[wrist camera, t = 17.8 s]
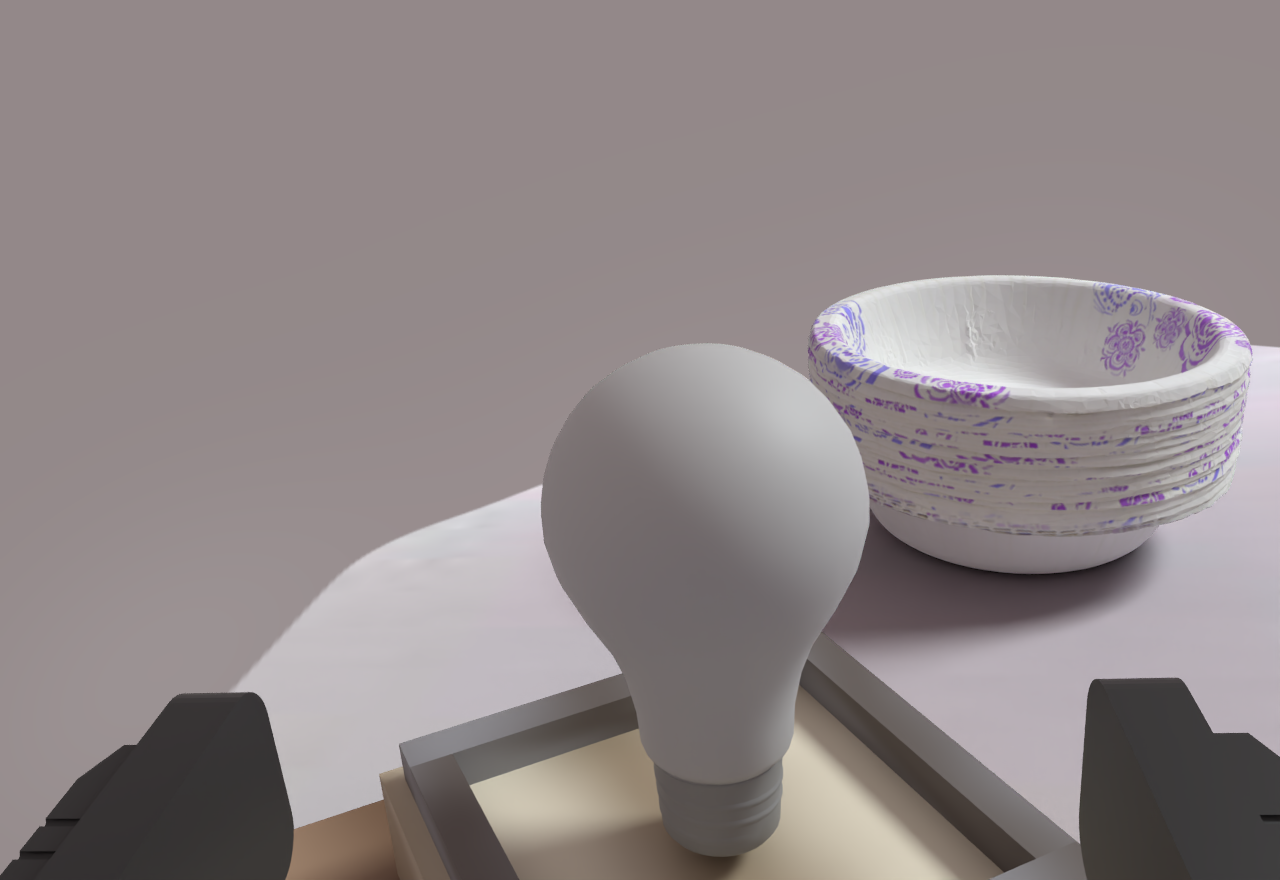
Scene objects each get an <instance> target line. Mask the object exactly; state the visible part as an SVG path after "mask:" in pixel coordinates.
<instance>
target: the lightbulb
mask: <svg viewBox="0 0 1280 880" xmlns="http://www.w3.org/2000/svg"><path fill="white" fill-rule="evenodd" d="M541 518H542V527H543V535H544V544H545V546H546V549H547V552H548V554H549V557H550V560H551V563H552V565H553V568H554V571H555V573H556V576H557V578H558V580H559V582H560V584H561V586H562V588H563V589H564V591H565V592H566V594H567V595H568V597H569V598H570V600H571V601H572V602H573V604H574V605H575V607H576V608H577V610H578V611H579V613H580V614H581V616H582V617H583V619H584V620H585V622H586V623H587V624H588V626H589V627H590V628H591V629H592V631H593V632H594V633H595V634H596V635H597V637H598V638H599V639H600V640H601V641H602V643H603V644H604V645H605V646H606V648H607V649H608V650H609V651H610V652H611V654H612V655H613V656H614V658H615V660H616V662H617V664H618V665H619V667H620V669H621V671H622V673H623V675H624V677H625V679H626V681H627V684H628V688H629V691H630V694H631V697H632V700H633V703H634V706H635V710H636V713H637V720H638V726H639V732H640V739H641V743H642V745H643V747H644V749H645V751H646V753H647V755H648V757H649V758H650V759H651V760H652V761H653V762H654V772H655V777H656V786H657V792H658V796H659V806H660V811H661V813H662V820H663V825H664V827H665V829H666V831H667V832H668V834H669V835H670V836H671V837H672V838H673V839H674V840H675V841H676V842H678V843H679V844H680V845H682V846H683V847H684V848H686V849H688V850H690V851H692V852H695V853H698V854H701V855H706V856H712V857H728V856H736V855H740V854H743V853H747V852H749V851H751V850H753V849H756V848H757V847H759V846H760V845H762V844H763V843H764V842H765V841H766V840H767V839H768V838H769V837H770V836H771V835H772V834H773V833H774V832H775V830H776V828H777V827H778V825H779V821H780V815H781V797H782V794H783V785H782V779H783V766H782V758H783V756H784V755H785V753H786V752H787V750H788V749H789V746H790V743H791V740H792V737H793V734H794V715H795V701H796V697H797V692H798V687H799V682H800V677H801V672H802V670H803V667H804V665H805V662H806V660H807V658H808V655H809V653H810V650H811V648H812V645H813V644H814V642H815V641H816V639H817V638H818V636H819V635H820V633H821V632H822V630H823V629H824V627H825V626H826V624H827V623H828V621H829V620H830V618H831V617H832V615H833V614H834V612H835V611H836V609H837V607H838V605H839V603H840V601H841V600H842V598H843V596H844V594H845V592H846V590H847V589H848V587H849V585H850V583H851V581H852V579H853V577H854V576H855V574H856V572H857V569H858V566H859V562H860V559H861V556H862V552H863V548H864V544H865V540H866V536H867V532H868V528H869V491H868V485H867V480H866V475H865V471H864V466H863V462H862V457H861V455H860V452H859V450H858V447H857V445H856V442H855V440H854V437H853V435H852V433H851V431H850V429H849V428H848V426H847V425H846V423H845V422H844V421H843V419H842V418H841V416H840V415H839V414H838V412H837V411H836V409H835V408H834V407H833V405H832V404H831V402H830V401H829V400H828V398H827V397H826V396H825V395H823V394H822V393H821V392H820V391H819V390H818V389H817V388H816V387H815V386H814V385H813V384H812V383H811V382H810V381H809V380H808V379H807V378H805V377H804V376H803V375H801V374H800V373H798V372H796V371H795V370H793V369H791V368H790V367H787V366H786V365H784V364H783V363H781V362H779V361H777V360H775V359H773V358H771V357H768V356H766V355H763V354H760V353H757V352H754V351H751V350H747V349H744V348H741V347H738V346H731V345H725V344H708V343H705V344H687V345H679V346H673V347H668V348H664V349H660V350H657V351H654V352H651V353H648V354H646V355H644V356H642V357H640V358H638V359H636V360H634V361H631V362H629V363H627V364H625V365H623V366H621V367H620V368H618V369H617V370H615V371H614V372H612V373H611V374H610V375H608V376H607V377H606V378H604V379H603V380H602V381H600V382H599V383H598V384H596V385H595V386H594V387H593V388H592V389H591V390H590V391H589V392H588V393H587V394H586V395H585V396H584V397H583V399H582V400H581V401H580V402H579V404H578V405H577V406H576V407H575V409H574V410H573V411H572V412H571V414H570V415H569V417H568V418H567V420H566V422H565V424H564V426H563V428H562V429H561V431H560V433H559V435H558V436H557V438H556V440H555V442H554V445H553V447H552V449H551V452H550V456H549V460H548V463H547V467H546V470H545V474H544V479H543V488H542V498H541Z"/></svg>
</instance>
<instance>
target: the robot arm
mask: <svg viewBox="0 0 1280 880" xmlns="http://www.w3.org/2000/svg"><path fill="white" fill-rule="evenodd" d="M1079 831H1080V843H1081V851H1082V858H1083V864H1084V869H1085V873H1086V877H1087V880H1280V757H1279V756H1278V755H1276V754H1275V753H1274V752H1272V751H1271V750H1270V749H1269V748H1267V747H1266V746H1265V745H1263V744H1262V743H1261V742H1259V741H1258V740H1257V739H1256V738H1254V737H1253V736H1252V735H1250V734H1249V733H1213V732H1212V730H1211V728H1210V727H1209V725H1208V723H1207V721H1206V720H1205V718H1204V716H1203V714H1202V713H1201V711H1200V709H1199V707H1198V705H1197V704H1196V702H1195V700H1194V698H1193V697H1192V695H1191V693H1190V691H1189V690H1188V688H1187V686H1186V685H1185V683H1184V682H1183V681H1182V680H1181V679H1179V678H1136V679H1094V680H1093V681H1092V683H1091V685H1090V688H1089V692H1088V698H1087V710H1086V724H1085V738H1084V752H1083V766H1082V780H1081V794H1080V808H1079ZM293 842H294V825H293V817H292V812H291V807H290V803H289V799H288V795H287V791H286V787H285V783H284V779H283V775H282V770H281V766H280V762H279V758H278V754H277V750H276V746H275V742H274V738H273V733H272V729H271V725H270V721H269V717H268V713H267V710H266V707H265V705H264V702H263V701H262V699H261V698H260V697H259V696H258V695H257V694H255V693H253V692H245V693H193V694H192V693H191V694H179V695H177V696H176V697H174V698H173V699H172V700H171V701H170V702H169V703H168V705H167V706H166V707H165V709H164V710H163V711H162V712H161V714H160V715H159V716H158V718H157V719H156V720H155V722H154V723H153V724H152V726H151V727H150V728H149V729H148V731H147V732H146V733H145V735H144V736H143V737H142V739H141V740H140V741H139V743H138V744H137V745H124V746H122V747H121V748H120V749H118V750H117V751H115V752H114V753H113V754H112V755H110V756H109V757H108V758H106V759H104V760H103V761H102V762H100V763H99V764H98V765H96V766H95V767H94V768H92V769H91V770H89V771H88V772H87V773H85V774H84V775H83V776H81V777H80V778H78V779H77V780H76V782H75V783H74V784H73V785H72V787H71V788H70V789H69V791H68V792H67V793H66V794H65V795H64V797H63V798H62V799H61V800H60V802H59V803H58V804H57V805H56V807H55V808H54V809H53V810H52V812H51V813H50V814H49V815H48V817H47V818H46V825H45V827H39V828H38V829H37V830H36V832H35V833H34V834H33V835H32V837H31V838H30V839H29V840H28V842H27V843H26V844H25V845H24V847H23V848H22V849H21V850H20V857H19V859H18V860H12V862H11V863H10V864H9V865H8V867H7V868H6V869H5V870H4V872H3V873H2V874H1V875H0V880H285V879H286V877H287V874H288V871H289V867H290V863H291V858H292V852H293Z"/></svg>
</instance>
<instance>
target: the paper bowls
mask: <svg viewBox="0 0 1280 880" xmlns="http://www.w3.org/2000/svg"><path fill="white" fill-rule="evenodd" d="M808 353H809V359H808V368H809V375H810V380H809V381H810V382H811V383H812V384H813V385H814V386H815V387H816V388H817V389H818V390H819V391H820V392H821V393H822V394H823V395H825V396H826V397H827V398H828V400H829V401H830V402H831V404H832V405H833V407H834V408H835V409H836V411H837V412H838V414H839V415H840V416H841V418H842V419H843V421H844V422H845V423H846V425H847V426H848V428H849V429H850V431H851V433H852V435H853V437H854V440H855V442H856V445H857V447H858V450H859V452H860V455H861V457H862V462H863V466H864V471H865V475H866V480H867V485H868V491H869V506H870V508H871V510H872V512H873V513H874V515H875V516H876V518H877V519H878V520H879V522H880V523H881V524H882V525H883V526H884V527H885V528H886V529H887V530H888V531H889V532H890V533H891V534H893V535H894V536H895V537H897V538H898V539H899V540H901V541H902V542H904V543H906V544H908V545H909V546H911V547H913V548H915V549H917V550H919V551H921V552H923V553H925V554H928V555H930V556H933V557H935V558H938V559H941V560H944V561H947V562H950V563H954V564H958V565H962V566H965V567H970V568H975V569H981V570H987V571H995V572H1004V573H1015V574H1047V573H1060V572H1070V571H1076V570H1082V569H1087V568H1091V567H1095V566H1098V565H1101V564H1104V563H1107V562H1110V561H1113V560H1115V559H1117V558H1120V557H1122V556H1124V555H1126V554H1128V553H1129V552H1131V551H1133V550H1134V549H1136V548H1138V547H1139V546H1140V545H1141V544H1142V543H1144V542H1145V541H1146V540H1147V539H1148V538H1149V537H1150V536H1151V535H1152V534H1153V533H1154V532H1155V530H1156V529H1157V528H1158V527H1159V525H1162V524H1167V523H1171V522H1174V521H1178V520H1181V519H1184V518H1186V517H1188V516H1190V515H1191V514H1196V513H1198V512H1200V511H1202V510H1204V509H1205V508H1210V507H1211V506H1212V505H1213V504H1214V503H1215V502H1216V501H1217V500H1218V499H1219V498H1220V497H1221V496H1223V495H1224V494H1226V492H1227V491H1228V490H1229V488H1230V485H1231V483H1232V479H1233V476H1234V472H1235V469H1236V459H1237V458H1238V456H1239V450H1240V441H1242V423H1243V417H1244V410H1245V406H1246V399H1247V390H1248V387H1249V383H1250V368H1249V367H1250V366H1251V363H1252V361H1253V358H1252V349H1251V346H1250V343H1249V340H1248V338H1247V337H1246V335H1245V334H1244V332H1243V331H1241V330H1240V329H1239V327H1238V326H1236V325H1235V324H1234V323H1233V322H1231V321H1229V320H1228V319H1227V318H1225V317H1223V316H1220V315H1219V314H1217V313H1215V312H1213V311H1210V310H1208V309H1206V308H1204V307H1201V306H1198V305H1196V304H1194V303H1192V302H1188V301H1185V300H1183V299H1180V298H1176V297H1173V296H1169V295H1166V294H1161V293H1157V292H1153V291H1149V290H1144V289H1140V288H1132V287H1128V286H1122V285H1117V284H1109V283H1103V282H1095V281H1085V280H1076V279H1069V278H1068V279H1067V278H1058V277H1039V276H1004V275H991V276H964V277H946V278H936V279H926V280H918V281H911V282H904V283H899V284H894V285H889V286H884V287H879V288H875V289H872V290H868V291H865V292H861V293H858V294H856V295H853V296H850V297H848V298H845V299H843V300H841V301H839V302H837V303H835V304H833V305H831V306H830V307H828V308H827V309H826V310H825V311H823V312H822V313H821V314H820V315H819V316H818V317H817V318H816V320H815V322H814V324H813V325H812V328H811V331H810V335H809V339H808Z"/></svg>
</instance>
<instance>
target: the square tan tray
mask: <svg viewBox="0 0 1280 880" xmlns="http://www.w3.org/2000/svg"><path fill="white" fill-rule="evenodd" d="M399 747H400V753H401V759H402V765H403V767H400V768H397V769H394V770H390V771H387V772H384V773H381V774H379V775H380V781H381V786H382V792H383V797H384V800H381V801H378V802H375V803H372V804H369V805H366V806H363V807H360V808H357V809H354V810H351V811H348V812H345V813H342V814H339V815H336V816H333V817H330V818H327V819H324V820H321V821H318V822H315V823H312V824H309V825H306V826H303V827H300V828H297V829H294V842H293V852H292V858H291V863H290V867H289V871H288V874H287V877H286V879H285V880H1087V877H1086V873H1085V869H1084V864H1083V858H1082V851H1081V845H1080V844H1079V843H1078V842H1077V841H1076V840H1074V839H1073V838H1072V837H1071V836H1069V835H1068V834H1067V833H1066V832H1065V831H1063V830H1062V829H1061V828H1060V827H1058V826H1057V825H1056V824H1055V823H1054V822H1052V821H1051V820H1050V819H1049V818H1048V817H1046V816H1045V815H1044V814H1043V813H1041V812H1040V811H1039V810H1038V809H1037V808H1035V807H1034V806H1033V805H1032V804H1030V803H1029V802H1028V801H1027V800H1026V799H1024V798H1023V797H1022V796H1021V795H1020V794H1018V793H1017V792H1016V791H1015V790H1013V789H1012V788H1011V787H1010V786H1009V785H1007V784H1006V783H1005V782H1004V781H1003V780H1001V779H1000V778H999V777H998V776H996V775H995V774H994V773H993V772H992V771H990V770H989V769H988V768H987V767H985V766H984V765H983V764H982V763H981V762H979V761H978V760H977V759H976V758H975V757H973V756H972V755H971V754H970V753H968V752H967V751H966V750H965V749H964V748H962V747H961V746H960V745H959V744H958V743H956V742H955V741H954V740H953V739H951V738H950V737H949V736H948V735H947V734H945V733H944V732H943V731H942V730H940V729H939V728H938V727H937V726H936V725H934V724H933V723H932V722H931V721H930V720H928V719H927V718H926V717H925V716H923V715H922V714H921V713H920V712H919V711H917V710H916V709H915V708H914V707H913V706H911V705H910V704H909V703H908V702H906V701H905V700H904V699H903V698H902V697H900V696H899V695H898V694H897V693H895V692H894V691H893V690H892V689H891V688H889V687H888V686H887V685H886V684H885V683H883V682H882V681H881V680H880V679H878V678H877V677H876V676H875V675H874V674H872V673H871V672H870V671H869V670H867V669H866V668H865V667H864V666H863V665H861V664H860V663H859V662H858V661H857V660H855V659H854V658H853V657H852V656H850V655H849V654H848V653H847V652H846V651H844V650H843V649H842V648H841V647H840V646H838V645H837V644H836V643H835V642H833V641H832V640H831V639H830V638H829V637H827V636H826V635H825V634H824V633H822V632H821V633H820V635H819V636H818V638H817V639H816V641H815V642H814V644H813V645H812V648H811V650H810V653H809V655H808V658H807V660H806V662H805V665H804V667H803V670H802V672H801V677H800V682H799V687H798V692H797V697H796V701H795V715H794V734H793V737H792V740H791V743H790V746H789V749H788V750H787V752H786V753H785V755H784V756H783V758H782V766H783V779H782V785H783V794H782V797H781V815H780V821H779V825H778V827H777V828H776V830H775V832H774V833H773V834H772V835H771V836H770V837H769V838H768V839H767V840H766V841H765V842H764V843H763V844H762V845H760V846H759V847H757V848H756V849H753V850H751V851H749V852H747V853H743V854H740V855H736V856H728V857H712V856H706V855H701V854H698V853H695V852H692V851H690V850H688V849H686V848H684V847H683V846H682V845H680V844H679V843H678V842H676V841H675V840H674V839H673V838H672V837H671V836H670V835H669V834H668V832H667V831H666V829H665V827H664V825H663V820H662V813H661V811H660V806H659V796H658V792H657V786H656V777H655V772H654V762H653V761H652V760H651V759H650V758H649V757H648V755H647V753H646V751H645V749H644V747H643V745H642V743H641V739H640V732H639V726H638V720H637V713H636V710H635V706H634V703H633V700H632V697H631V694H630V691H629V688H628V684H627V681H626V679H625V677H624V675H623V673H622V674H619V675H616V676H613V677H609V678H606V679H603V680H600V681H597V682H594V683H590V684H587V685H584V686H581V687H578V688H575V689H571V690H568V691H565V692H562V693H559V694H556V695H552V696H549V697H546V698H543V699H540V700H537V701H533V702H530V703H527V704H524V705H521V706H518V707H514V708H511V709H508V710H505V711H502V712H498V713H495V714H492V715H489V716H486V717H483V718H479V719H476V720H473V721H470V722H467V723H464V724H460V725H457V726H454V727H451V728H448V729H445V730H441V731H438V732H435V733H432V734H429V735H426V736H422V737H419V738H416V739H413V740H410V741H407V742H403V743H400V744H399Z"/></svg>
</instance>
